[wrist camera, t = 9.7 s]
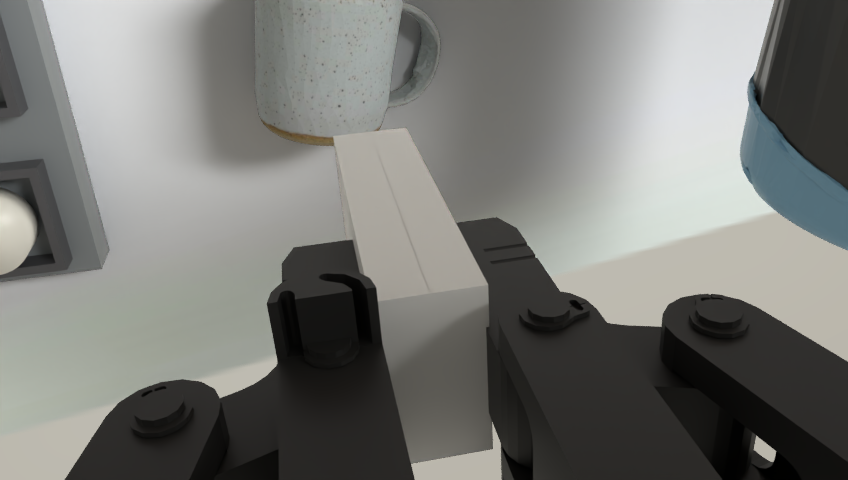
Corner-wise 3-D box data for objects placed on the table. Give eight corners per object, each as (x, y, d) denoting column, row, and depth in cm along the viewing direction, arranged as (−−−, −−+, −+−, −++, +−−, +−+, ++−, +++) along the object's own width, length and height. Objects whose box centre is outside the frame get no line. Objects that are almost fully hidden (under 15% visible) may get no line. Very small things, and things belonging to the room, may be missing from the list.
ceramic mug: (254, 109, 44) (256, 153, 37) (253, -37, 40) (255, -18, 34) (427, 115, 46) (458, 156, 40) (440, -23, 43) (477, -2, 36)
